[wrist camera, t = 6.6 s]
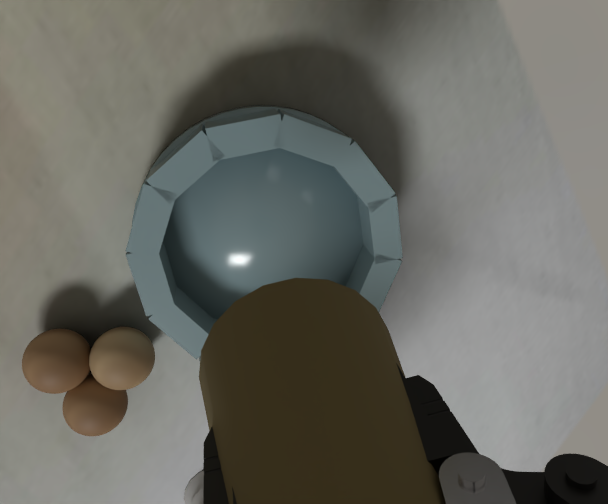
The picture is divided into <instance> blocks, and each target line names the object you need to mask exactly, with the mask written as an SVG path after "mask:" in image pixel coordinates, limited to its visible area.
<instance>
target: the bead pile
mask: <svg viewBox="0 0 608 504" xmlns="http://www.w3.org/2000/svg"><path fill="white" fill-rule="evenodd" d="M154 361H155V352H154V347H153V344H152V343H151V341H150V339H149V338H148V337H147V336H146V335H145V334H144V333H143V332H141V331H140V330H137V329H135V328H131V327H117V328H113V329H111V330H108V331H106V332H105V333H104V334H102V335H101V336H100V337H99V338H98V339H97V340H96V341H95V343H94V344H93V346H92V349H91V348H90V346H89V344H88V342H87V341H86V340H85V338H84V337H83V336H81V335H80V334H78V333H77V332H74V331H72V330H68V329H52V330H48V331H46V332H43V333H41V334H40V335H38V336H37V337H35V338H34V339H33V340H32V341H31V342H30V343H29V345H28V346H27V348H26V350H25V352H24V354H23V359H22V369H23V373H24V376H25V378H26V379H27V381H28V382H29V383H30V384H31V385H32V386H33V387H34V388H36V389H38V390H40V391H42V392H45V393H53V394H55V393H63V392H66V391H67V393H66V395H65V397H64V401H63V415H64V418H65V420H66V422H67V424H68V425H69V426H70V428H71V429H73V430H74V431H75V432H77V433H79V434H82V435H85V436H99V435H102V434H105V433H107V432H109V431H111V430H112V429H114V428H115V427H116V426H117V425H118V424H119V423H120V422H121V421H122V419H123V417H124V415H125V413H126V410H127V405H128V397H127V393H126V389H130V388H133V387H135V386H137V385H139V384H140V383H142V382H143V381H144V380H145V379H146V378H147V377H148V376H149V374H150V372H151V371H152V368H153V365H154ZM90 370H91V372H92V374H89V375H88V373H89V371H90Z"/></svg>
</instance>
